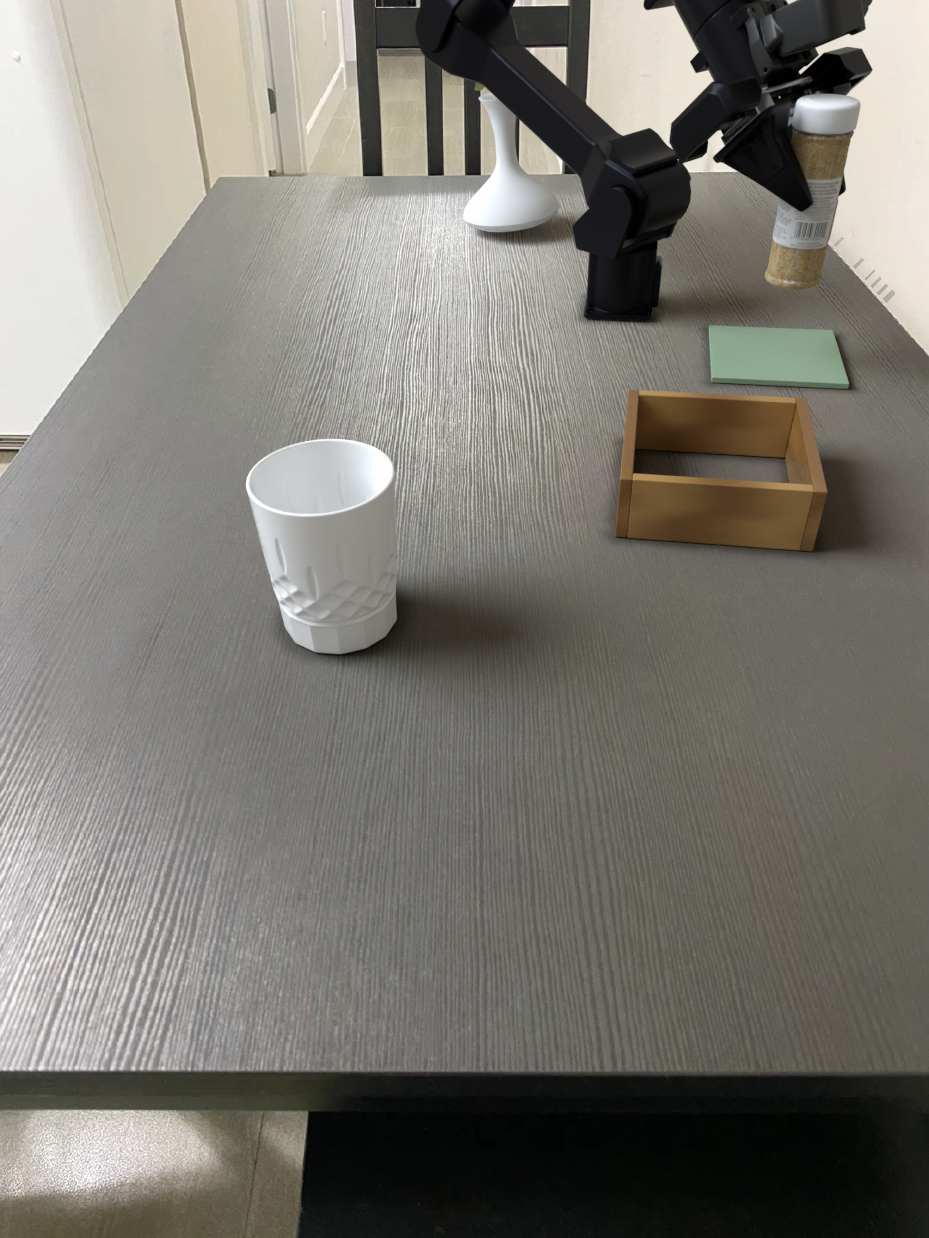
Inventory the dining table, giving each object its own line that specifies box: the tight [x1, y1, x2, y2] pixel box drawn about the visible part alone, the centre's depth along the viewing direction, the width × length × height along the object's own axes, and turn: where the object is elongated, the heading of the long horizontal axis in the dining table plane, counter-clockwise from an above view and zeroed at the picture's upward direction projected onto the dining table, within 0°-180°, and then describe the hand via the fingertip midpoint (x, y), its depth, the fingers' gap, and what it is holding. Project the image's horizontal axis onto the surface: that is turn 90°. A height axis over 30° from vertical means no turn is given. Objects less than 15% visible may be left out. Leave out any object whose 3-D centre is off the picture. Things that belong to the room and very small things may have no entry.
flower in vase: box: [462, 82, 561, 233], centre depth 103 cm, size 13×11×25 cm
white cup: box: [245, 438, 399, 655], centre depth 53 cm, size 8×8×10 cm
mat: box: [708, 324, 850, 390], centre depth 82 cm, size 11×11×1 cm
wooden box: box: [614, 389, 829, 552], centre depth 64 cm, size 13×13×4 cm
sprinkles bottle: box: [764, 94, 862, 291], centre depth 73 cm, size 5×5×13 cm
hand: (823, 201), depth 72 cm, fingers closed on sprinkles bottle, 4 cm apart
